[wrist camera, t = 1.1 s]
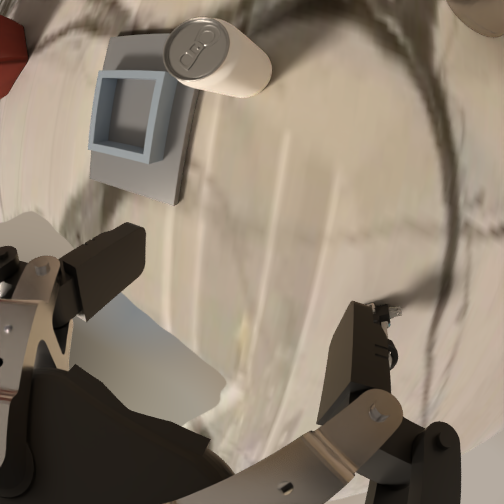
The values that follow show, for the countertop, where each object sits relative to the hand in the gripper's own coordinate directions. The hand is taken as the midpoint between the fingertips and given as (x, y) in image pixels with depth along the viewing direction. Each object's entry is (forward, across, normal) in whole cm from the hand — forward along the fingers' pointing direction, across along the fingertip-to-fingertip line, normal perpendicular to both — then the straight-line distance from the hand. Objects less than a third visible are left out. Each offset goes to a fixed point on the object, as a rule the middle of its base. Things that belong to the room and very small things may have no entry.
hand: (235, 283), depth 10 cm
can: (+24, +10, -10) cm, 27 cm away
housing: (+23, +23, -3) cm, 33 cm away
